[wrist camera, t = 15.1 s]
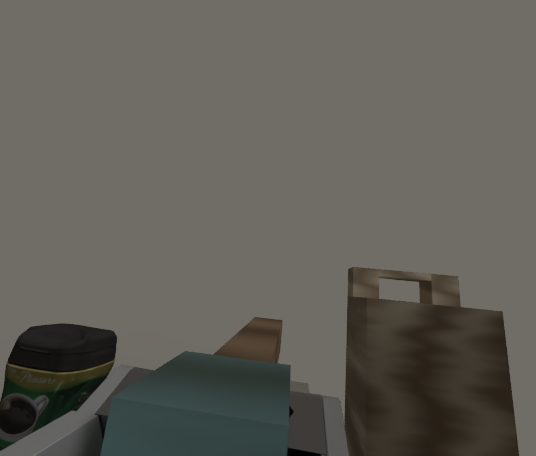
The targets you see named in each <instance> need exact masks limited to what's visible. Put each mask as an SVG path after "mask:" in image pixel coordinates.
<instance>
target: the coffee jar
mask: <svg viewBox="0 0 536 456" xmlns="http://www.w3.org/2000/svg"><path fill="white" fill-rule="evenodd" d="M116 343H117V336H116V335H115V333H114V331H111V330H104V329H98V328H92V327H87V326H81V325H74V324H52V325H42V326H34V327H30V328H29V329H27V331H25V332H24V333H22V334H21V335H20V336H19V338H18V339H17V341H16V343H15V346H14V347H13V350H12V352H11V354H10V357H9V358H8V362H7V364H6V370H5V382H4V389H3V393H2V397H1V401H0V451H1V450H3V449H5V448H7V447H8V446H10V445H12V444H14V443H16V442H17V441H19V440H21V439H23V438H24V437H26V436H28V435H30V434H31V433H33V432H35V431H37V430H39V429H40V428H42V427H44V426H46V425H47V424H49V423H51V422H53V421H54V420H56V419H58V418H60V417H62V416H63V415H65V414H67V413H69V412H70V411H77V410H78V409H79V408H80V407H81V406H82V405H83V404H84V402H85V401H86V400H87V399H88V398H89V397H90V396H91V395H92V394H93V392H94V391H95V390H96V389H97V388H98V387H99V386H100V385H101V384H102V382H103V381H104V380H105V379H106V378H107V376H108V374H109V372H110V371H111V369H112V367H113V364H114V361H115V353H116Z"/></svg>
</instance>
